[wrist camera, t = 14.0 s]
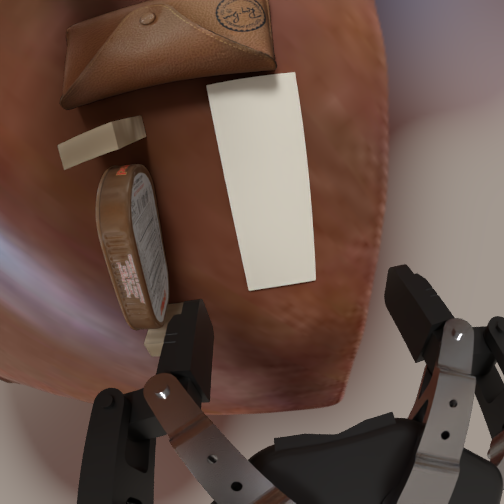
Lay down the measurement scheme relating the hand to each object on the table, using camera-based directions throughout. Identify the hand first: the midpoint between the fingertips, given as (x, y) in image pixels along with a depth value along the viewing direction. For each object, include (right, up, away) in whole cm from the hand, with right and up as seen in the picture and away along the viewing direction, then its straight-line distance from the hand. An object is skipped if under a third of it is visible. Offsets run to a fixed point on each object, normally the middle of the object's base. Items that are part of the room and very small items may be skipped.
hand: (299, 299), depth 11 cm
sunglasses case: (-10, +21, +5) cm, 24 cm away
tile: (-1, +7, +13) cm, 15 cm away
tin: (-12, +4, +15) cm, 19 cm away
